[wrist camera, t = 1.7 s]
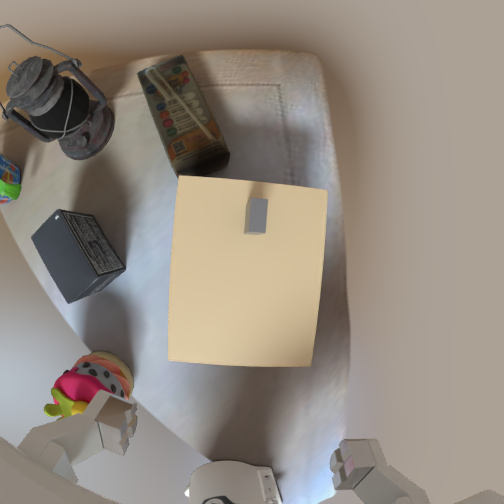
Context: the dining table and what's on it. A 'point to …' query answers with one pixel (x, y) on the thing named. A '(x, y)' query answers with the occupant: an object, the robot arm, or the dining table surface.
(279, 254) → the lid flap
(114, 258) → the small box
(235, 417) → the dining table surface
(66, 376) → the cake
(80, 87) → the lantern
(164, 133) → the beverage carton
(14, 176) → the snack cup
